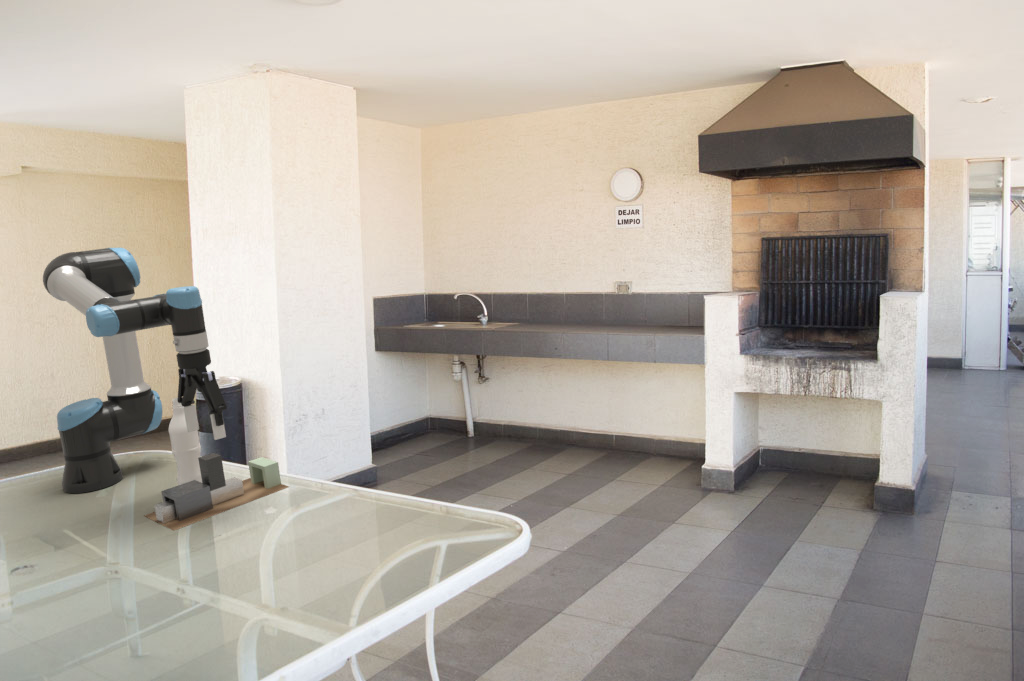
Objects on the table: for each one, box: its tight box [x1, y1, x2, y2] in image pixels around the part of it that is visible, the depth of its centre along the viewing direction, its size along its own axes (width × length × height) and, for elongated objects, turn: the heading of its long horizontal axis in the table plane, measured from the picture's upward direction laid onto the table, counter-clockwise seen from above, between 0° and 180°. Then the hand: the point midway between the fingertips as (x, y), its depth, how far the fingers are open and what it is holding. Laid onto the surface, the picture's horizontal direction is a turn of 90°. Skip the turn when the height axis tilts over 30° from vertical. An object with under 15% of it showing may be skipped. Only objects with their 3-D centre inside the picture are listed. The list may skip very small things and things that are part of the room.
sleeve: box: [161, 480, 213, 521], centre depth 196 cm, size 8×8×6 cm
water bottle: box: [168, 397, 202, 486], centre depth 214 cm, size 7×7×25 cm
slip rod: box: [153, 452, 244, 523], centre depth 198 cm, size 4×21×12 cm, turn 138°
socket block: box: [247, 456, 282, 489], centre depth 212 cm, size 8×4×6 cm, turn 48°
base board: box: [143, 477, 290, 531], centre depth 203 cm, size 16×31×1 cm, turn 138°
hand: (206, 434), depth 199 cm, fingers open, 13 cm apart
